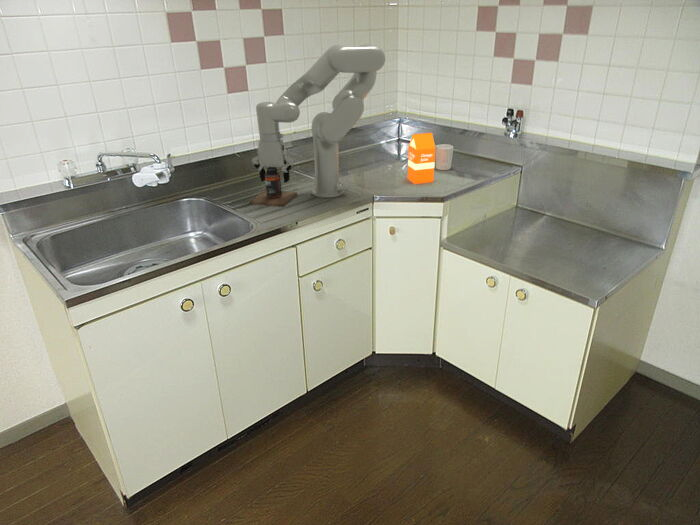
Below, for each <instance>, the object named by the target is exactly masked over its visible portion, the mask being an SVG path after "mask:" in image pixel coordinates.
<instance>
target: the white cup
mask: <svg viewBox="0 0 700 525" xmlns="http://www.w3.org/2000/svg"><path fill="white" fill-rule="evenodd" d="M453 153H454V146H453V145H452V144H446V143H445V144H437V145H435V168H436V170H440V171H448V170H449V171H450V170H451V167H452V163H453V155H454V154H453Z"/></svg>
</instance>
